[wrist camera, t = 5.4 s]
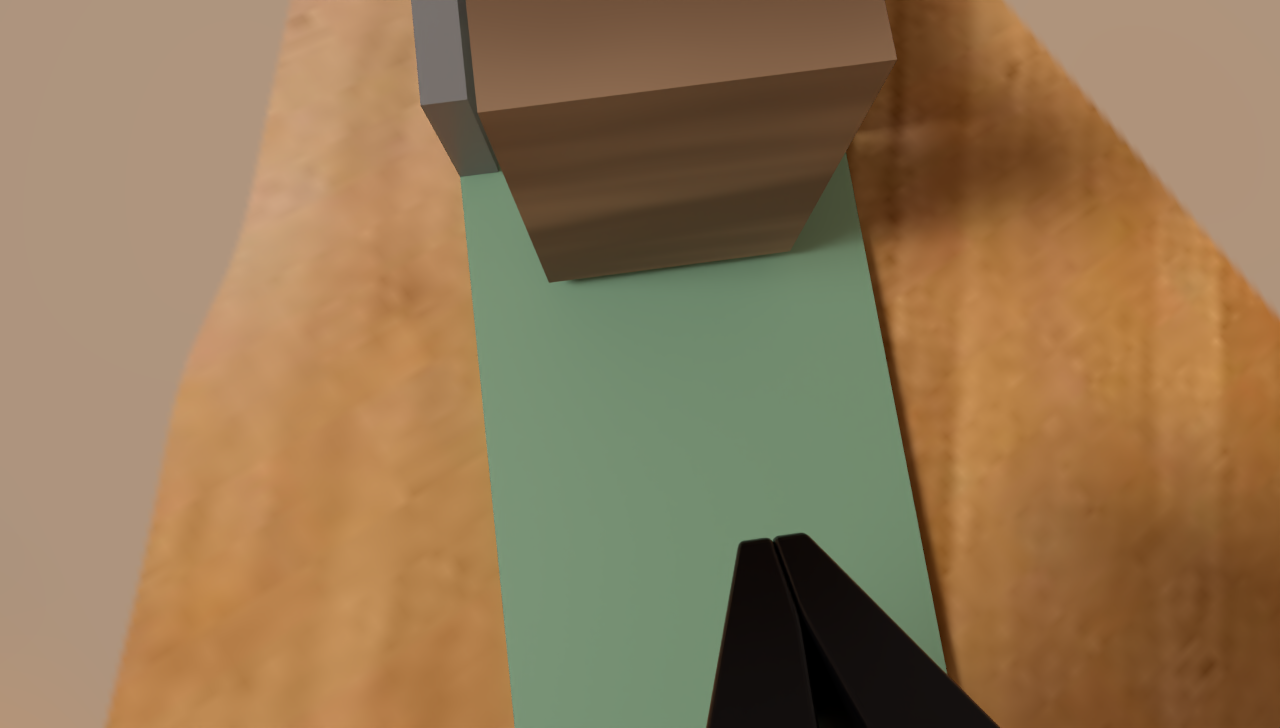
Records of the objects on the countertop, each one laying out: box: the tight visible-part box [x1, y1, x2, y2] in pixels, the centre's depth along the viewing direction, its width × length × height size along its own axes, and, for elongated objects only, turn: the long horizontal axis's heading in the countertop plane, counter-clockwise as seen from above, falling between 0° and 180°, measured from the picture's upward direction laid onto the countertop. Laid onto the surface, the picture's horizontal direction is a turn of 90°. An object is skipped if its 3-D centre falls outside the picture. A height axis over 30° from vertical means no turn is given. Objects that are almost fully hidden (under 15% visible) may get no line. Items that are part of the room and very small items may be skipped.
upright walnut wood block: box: [466, 0, 897, 283], centre depth 16 cm, size 3×6×8 cm, turn 98°
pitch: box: [460, 152, 947, 728], centre depth 20 cm, size 20×10×1 cm, turn 8°
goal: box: [411, 0, 499, 177], centre depth 20 cm, size 6×10×4 cm, turn 98°
